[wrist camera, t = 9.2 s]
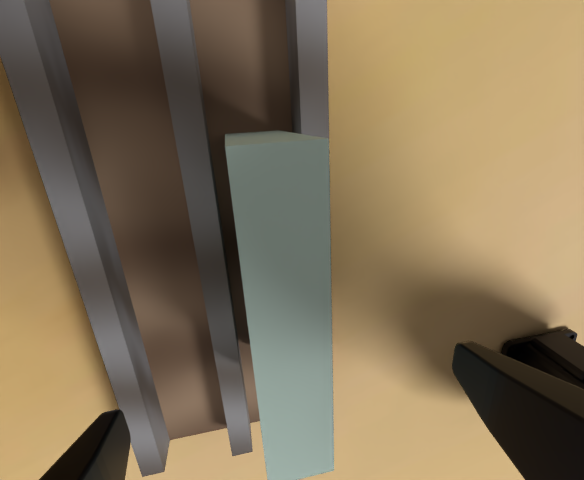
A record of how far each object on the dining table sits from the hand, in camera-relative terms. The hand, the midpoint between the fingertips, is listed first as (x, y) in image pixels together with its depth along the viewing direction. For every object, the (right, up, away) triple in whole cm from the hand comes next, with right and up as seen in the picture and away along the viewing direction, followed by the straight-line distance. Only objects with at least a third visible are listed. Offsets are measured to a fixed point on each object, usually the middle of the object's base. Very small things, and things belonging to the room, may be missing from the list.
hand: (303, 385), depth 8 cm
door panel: (-2, +3, +9) cm, 9 cm away
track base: (-5, +3, +10) cm, 11 cm away
